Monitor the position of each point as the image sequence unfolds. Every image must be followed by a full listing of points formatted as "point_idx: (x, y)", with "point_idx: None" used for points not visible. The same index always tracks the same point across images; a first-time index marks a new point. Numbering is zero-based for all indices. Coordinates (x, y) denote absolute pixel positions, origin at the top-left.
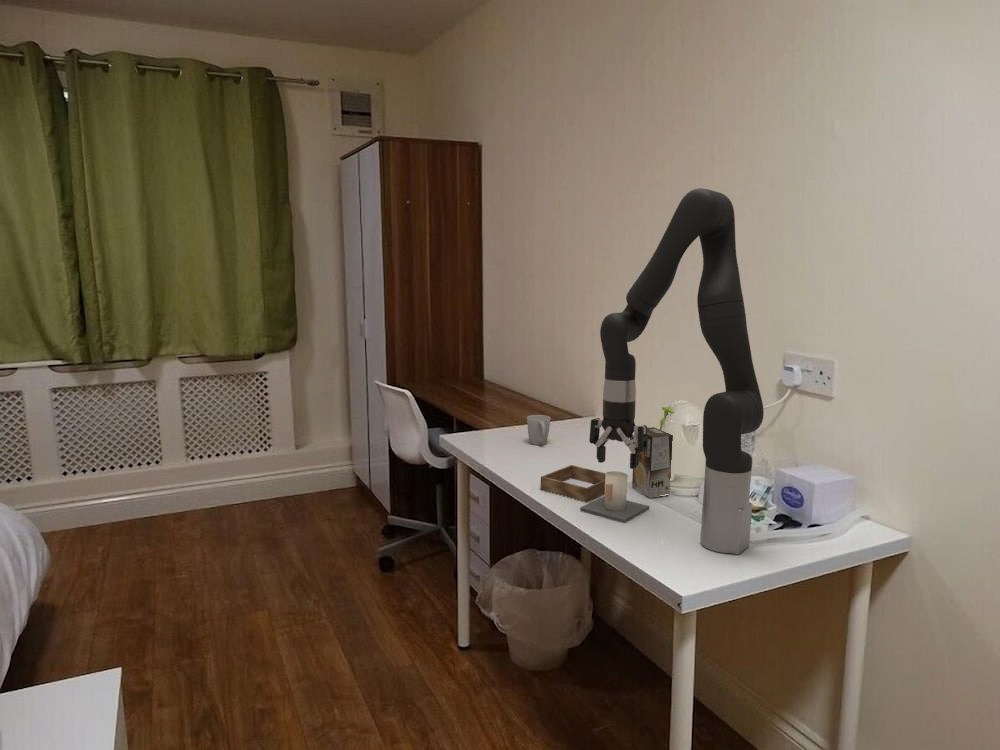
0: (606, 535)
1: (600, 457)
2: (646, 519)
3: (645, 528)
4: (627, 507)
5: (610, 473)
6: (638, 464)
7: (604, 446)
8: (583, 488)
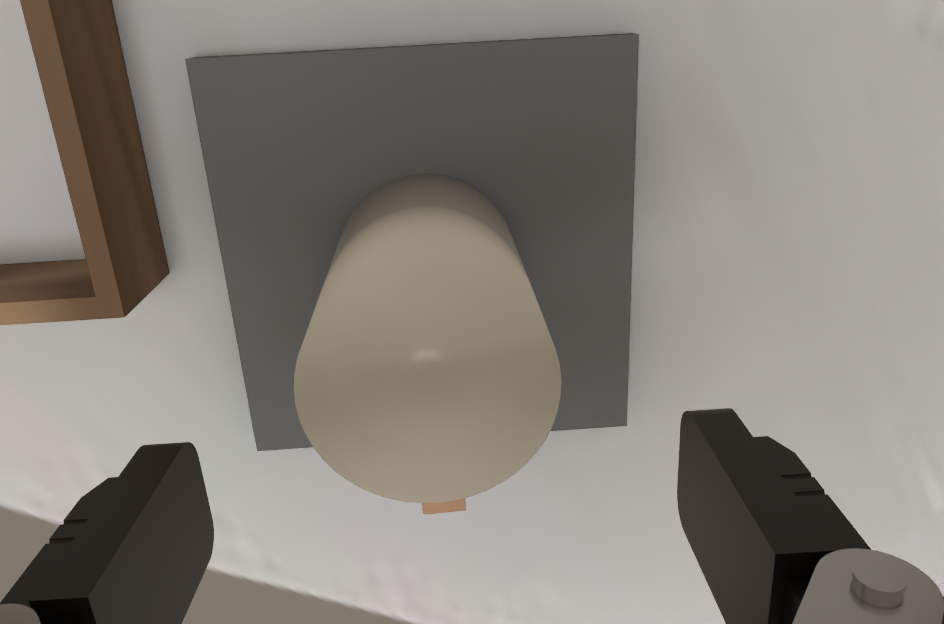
0: (631, 616)
1: (185, 599)
2: (709, 248)
3: (772, 390)
4: (511, 202)
5: (350, 405)
6: (786, 454)
7: (76, 614)
8: (83, 317)
